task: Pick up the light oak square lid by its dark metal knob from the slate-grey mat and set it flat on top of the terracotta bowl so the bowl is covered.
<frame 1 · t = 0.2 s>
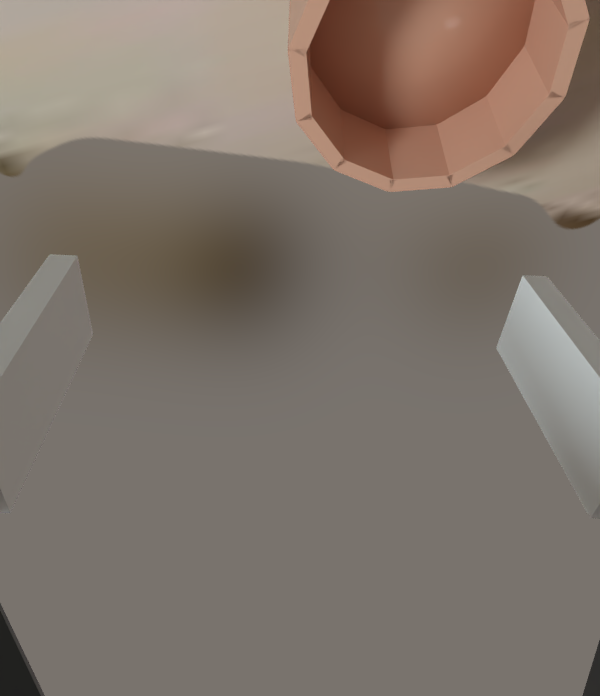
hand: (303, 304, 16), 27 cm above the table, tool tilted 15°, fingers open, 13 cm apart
terracotta bowl: (416, 19, 35), on the table
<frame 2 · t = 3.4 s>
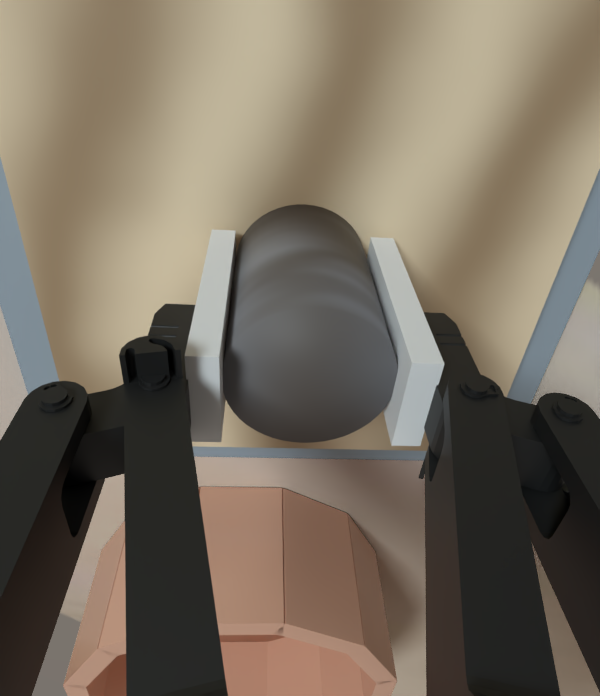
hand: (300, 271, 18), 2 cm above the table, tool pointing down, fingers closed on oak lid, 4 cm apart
oak lid: (298, 250, 19), point 1 cm above the table, touching gripper, slate mat
slate mat: (298, 242, 20), on the table
terracotta bowl: (240, 571, 33), on the table
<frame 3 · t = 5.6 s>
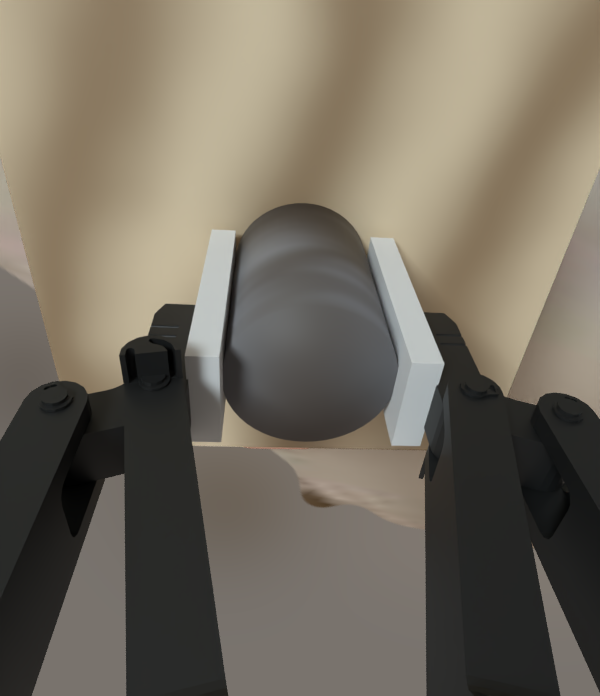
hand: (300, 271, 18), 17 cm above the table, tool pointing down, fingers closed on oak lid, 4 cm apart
oak lid: (299, 249, 19), point 16 cm above the table, touching gripper
when the fingers open (10 cm above the table, at t = 7.8 s): oak lid drops 2 cm, resting on terracotta bowl.
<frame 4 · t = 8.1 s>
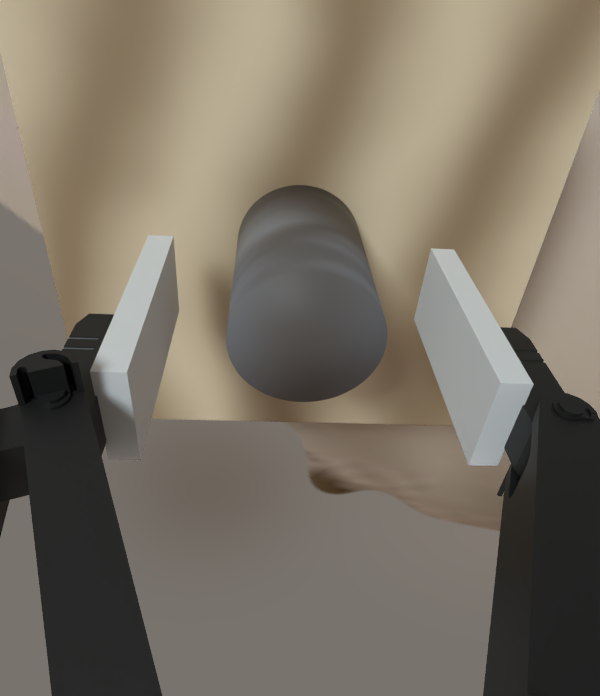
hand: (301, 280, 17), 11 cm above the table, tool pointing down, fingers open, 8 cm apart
oak lid: (297, 230, 20), point 7 cm above the table, touching terracotta bowl
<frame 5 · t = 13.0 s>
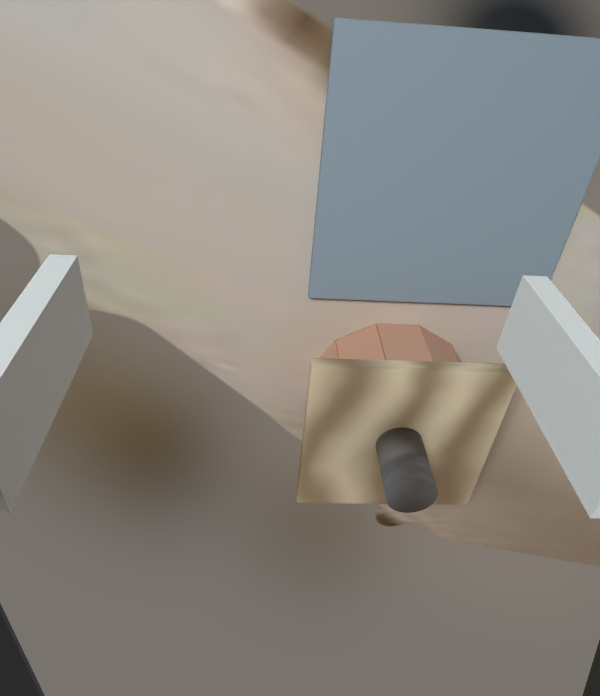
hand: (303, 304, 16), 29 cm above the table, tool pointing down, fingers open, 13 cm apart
oak lid: (396, 434, 51), point 7 cm above the table, touching terracotta bowl
slate mat: (452, 184, 44), on the table
terracotta bowl: (384, 386, 57), on the table
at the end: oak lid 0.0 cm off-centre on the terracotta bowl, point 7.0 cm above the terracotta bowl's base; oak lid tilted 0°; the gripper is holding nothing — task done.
